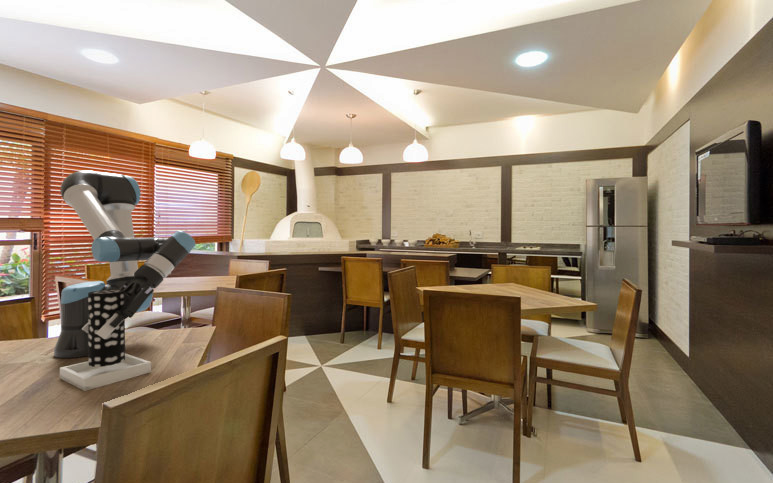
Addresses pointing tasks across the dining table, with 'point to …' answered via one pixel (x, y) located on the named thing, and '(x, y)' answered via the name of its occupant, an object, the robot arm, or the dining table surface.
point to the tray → (104, 372)
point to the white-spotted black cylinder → (99, 313)
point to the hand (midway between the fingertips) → (93, 334)
